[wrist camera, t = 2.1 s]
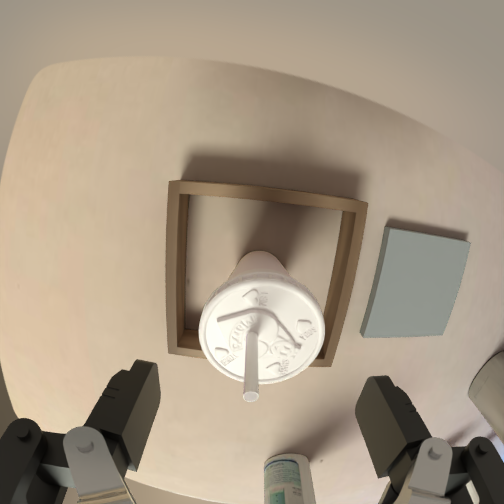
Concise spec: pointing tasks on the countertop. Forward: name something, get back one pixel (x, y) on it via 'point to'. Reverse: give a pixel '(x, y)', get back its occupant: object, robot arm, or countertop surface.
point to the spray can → (288, 480)
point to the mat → (414, 284)
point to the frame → (179, 191)
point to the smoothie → (261, 324)
